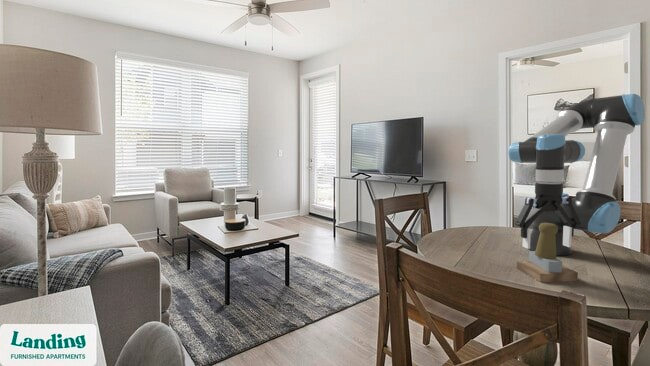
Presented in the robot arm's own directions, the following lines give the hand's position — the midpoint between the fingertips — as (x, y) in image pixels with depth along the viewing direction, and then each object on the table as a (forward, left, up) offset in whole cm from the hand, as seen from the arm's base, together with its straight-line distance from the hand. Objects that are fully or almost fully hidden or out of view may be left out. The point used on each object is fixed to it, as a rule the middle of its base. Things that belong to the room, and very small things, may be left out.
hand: (546, 247), depth 108 cm
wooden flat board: (0, 0, -10) cm, 10 cm away
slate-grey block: (0, 0, -7) cm, 7 cm away
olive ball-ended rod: (0, 0, -3) cm, 3 cm away
